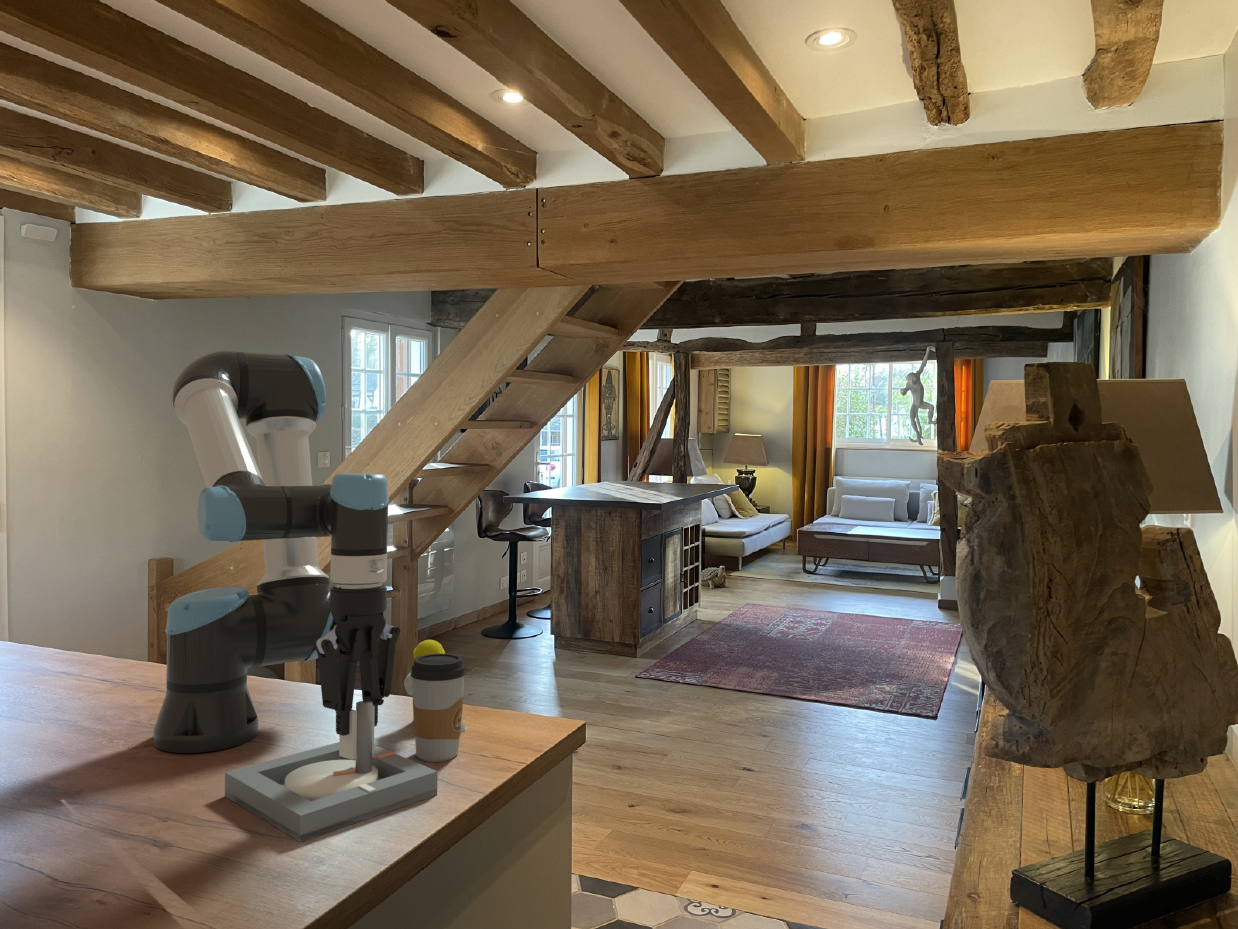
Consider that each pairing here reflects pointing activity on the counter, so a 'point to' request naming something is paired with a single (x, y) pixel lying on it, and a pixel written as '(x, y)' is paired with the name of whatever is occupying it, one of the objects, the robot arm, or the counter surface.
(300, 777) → the dial
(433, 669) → the coffee cup
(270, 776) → the dial board
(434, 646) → the figurine
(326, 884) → the counter surface
